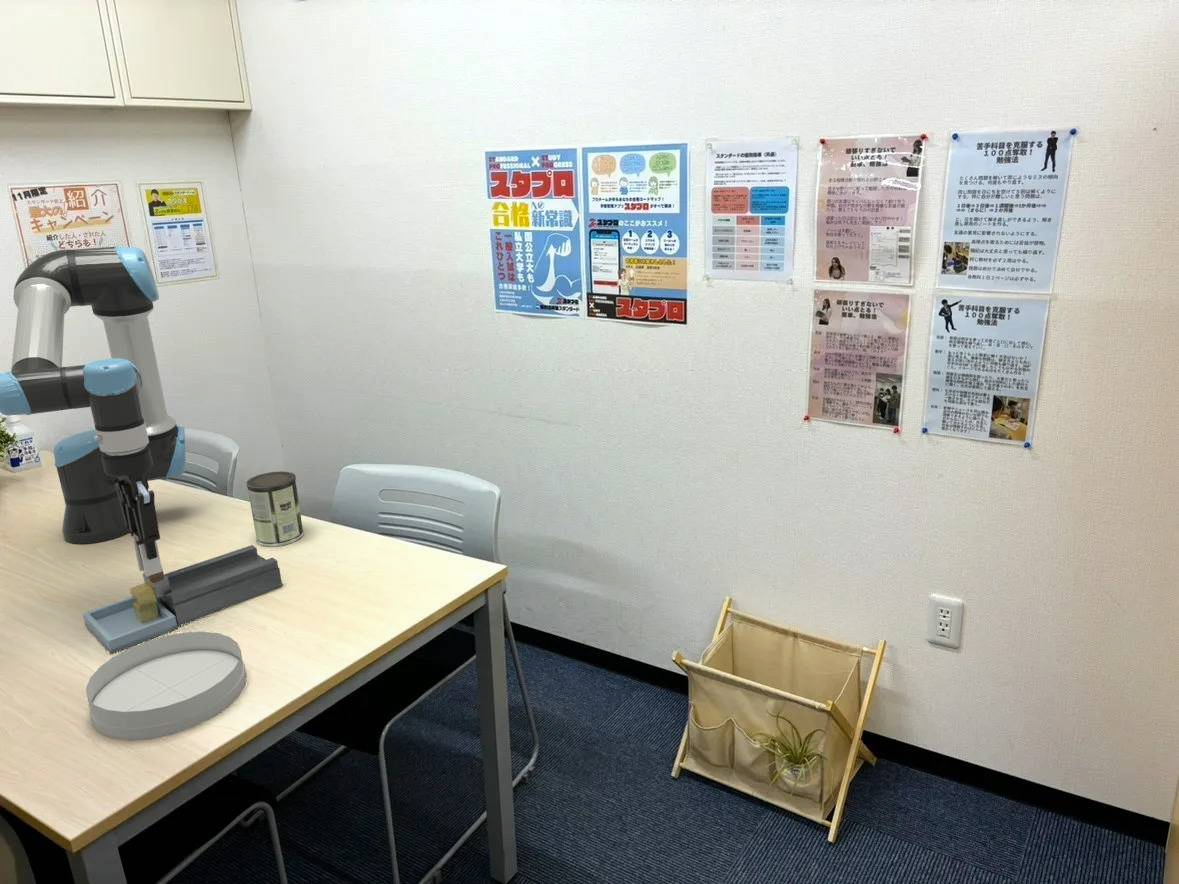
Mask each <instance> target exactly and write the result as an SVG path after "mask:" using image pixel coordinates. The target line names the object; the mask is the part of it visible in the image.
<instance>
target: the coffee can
mask: <svg viewBox="0 0 1179 884" xmlns="http://www.w3.org/2000/svg"><path fill="white" fill-rule="evenodd" d="M296 477H297V476H296V474H295V473H293V472H289V471H270V472H265V473H261V474H257V475H255V476H253V477H251V478H249V479H248V480H247V481H246V483H245V484H246V487H247V492H248V497H249V498H248V499H249V504H250V511H251V515H252V521H253V527H254V532H255V538H256V543H257V544H258V545H259V546H261V547H281V546H286V545H289V544H292V543H295V542H296V541H299V540H300V539H302V538H303V536H304V533H305V532H304V527H303V522H302V515H301V509H300V503H299V502H300V501H299V496H298V495H299V494H298V489H297V488H298V487H297V482H296V481H297V478H296Z"/></svg>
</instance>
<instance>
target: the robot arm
mask: <svg viewBox="0 0 1179 884" xmlns="http://www.w3.org/2000/svg"><path fill="white" fill-rule="evenodd" d="M152 271H153V270H152V268H151V265H150V262H149V260H148V258H147V256H146V253H145V252H144V251H143V250H142V249H141V248H139V247H135V246H119V245H117V246H104V247H92V248H91V247H90V248H89V247H88V248H76V249H75V248H74V249H67V248H66V249H59V250H55V251H51V252H49V253H47V254H46V253H45V254H44V255H42V256H40V257H39V258H37V259H36V260H34V261H33V262H31V263H29V265H28V266H27V267H25V269H24V270H23V271H22V272H21V273H20V274H19V277H18V278H17V280H16V282H15V284H14V288H13V289H14V290H13V296H12V297H13V301H14V304H15V306H16V308H17V310H18V311H17V317H16V327H15V335H14V342H13V343H14V344H13V350H12V351H13V352H12V358H11V359H12V360H11V367H10V371H6V372H3V373H0V414H2V415H3V416H11V417H13V416H23V415H25V416H31V415H35V414H36V415H37V414H43V413H52V412H59V411H65V410H73V409H74V410H77V409H85V408H90V411H91V415H92V419H93V424H94V429H91V430H85V431H82V432H79V433H75V434H73V435H72V434H71V435H70V436H68V437H65V438H63V439H62V440H60V441H58V442H57V443H56V444H55V446H54V448H53V457H54V465H55V467H56V471H57V476H58V478H59V479H58V480H59V483H60V487H61V493H62V496H63V500H64V504H65V507H64V515H63V520H62V521H63V522H62V531H61V532H62V534H63V539H64V540H65V542H67V543H71V544H93V543H101V542H105V541H109V540H112V539H115V538H119V537H122V536H124V535H126V534H128V533H129V535H130V536H131V537H132V538H131V540H132V544H133V547H134V548H133V549H134V552H135V557H136V562H137V567H138V571H139V572H144V571H145V572H144V573H145V575H146V576H150V575H153V574H156V573H159V572H162V569H163V567H162V563H161V556H160V552H159V547H158V543H157V541H158V540H161V535H160V529H159V523H158V517H157V511H156V510H157V509H156V504H155V492H154V491H153V490H149V489H150V485H149V482H151V481H157V480H167V479H169V478H173V477H179V476H181V475H183V474H184V473H185V472H186V468H187V465H186V464H187V461H186V459H187V457H186V438H185V437H186V434H185V427H184V426H180V425H178V424H177V420H176V419H175V418H174V417H172V416H171V415H169V414H168V412H167V406H166V402H165V397H164V393H163V387H162V383H161V381H162V380H161V377H160V371H159V367H158V363H157V362H158V361H157V358H156V357H157V355H156V352H155V347H154V343H153V337H152V331H151V328H150V321H149V318H148V317H149V315H150V314H151V312H153V310H154V303H153V302H156V301H158V300H159V299H160V296H159V295H160V294H159V290H158V286H157V284H156V280H155V277H154V274H153V272H152ZM85 306H86V307H87V306H91V309H92V310H91V311H92V314H93V315H94V316H95V317H96V318H98V319H100V320H102V322H103V327H104V330H105V335H106V340H107V345H108V349H109V353H110V358H107V359H101V360H100V359H99V360H94V361H92V362H89V363H86V364H81V365H72V366H63V356H64V355H63V354H64V353H63V350H64V332H65V331H64V329H65V315H66V314H67V313H68V312H69V309H70V308H71V307H85ZM137 531H138V534H139V538H140V541H135V538H134V534H133V533H134V532H137ZM136 544H137V545H139V548H140V553H141V557H142V562H143V565H142V562H141V558H140V555H139V551H138V548H137V545H136ZM143 567H144V569H143Z"/></svg>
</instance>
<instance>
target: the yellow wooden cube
mask: <svg viewBox="0 0 1179 884" xmlns="http://www.w3.org/2000/svg"><path fill="white" fill-rule="evenodd" d="M133 606H134V611H135V615H136V618H137V619H138V620H139V621H140V622H141V624H142V623H145V622H148V621H150V620H153V619H156V618H159V615H158V610H157V605H156V602H155V603H152V604H150V605H147V606H145V607H142V608H139V607H138V606H136V605H135V604H134V603H133Z"/></svg>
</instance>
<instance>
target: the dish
mask: <svg viewBox="0 0 1179 884" xmlns="http://www.w3.org/2000/svg"><path fill="white" fill-rule="evenodd" d="M242 656H243V655H242V650H241V647H240V645H239V643H238V642H237V641H235V639H233V638H231V637H230V636H229V635H225V634H221V633H218V632H212V631H211V632H210V631H194V632H193V631H190V632H189V631H188V632H187V631H186V632H179V633H175V634H170V635H164V636H159V637H156V638H152V639H150V640H147V641H144V642H142V643H139V644H137V645H134V646H131V647H129V648H126V649H124V651H122V652H120V653H117V655H115V656H113V657H111V658H110V659H109V660H107V661H106V662H105V663H103V664H102V665H101V666H98V669H96V671H95V672H94V673H93V674H92V675H91V676H90V677H89V680H88V682H87V684H86V687H85V692H86V699H87V702H88V711H89V716H90V721H91V725H92V726H93V728H95V730H96V731H97V732H98V733H99V734H101V735H104V736H107V737H109V738H111V739H117V740H124V741H139V740H152V739H157V738H161V737H166V736H171V735H174V734H177V733H179V732H183V731H186V730H188V729H191V728H194V727H196V726H198V725H201V724H202V723H205V722H206V721H209V720H211V719H213V718H214V717H216V716H217V715H218V714H220V713H221V712H223V711H224V710H226V709H228V707H230V706H231V705H232V703H234V701H236V700H237V698H238V697H240V695H241V693H242V692H243V690H244V688H245V687H246V684H247V683H246V682H247V681H246V680H247V672H246V671H247V670H246V664H245V663H244V660H243V657H242Z"/></svg>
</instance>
